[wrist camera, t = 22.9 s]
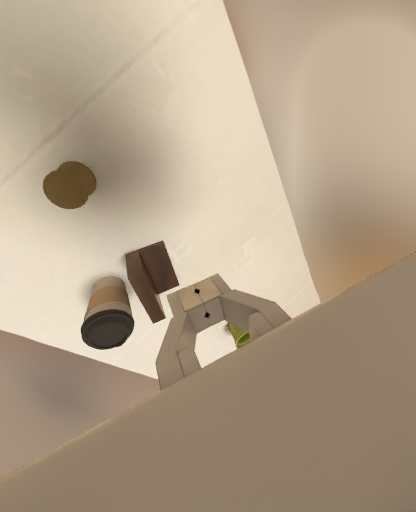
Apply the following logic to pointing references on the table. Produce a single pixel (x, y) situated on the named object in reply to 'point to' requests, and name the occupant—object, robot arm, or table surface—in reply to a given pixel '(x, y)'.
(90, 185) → the brown oblong lump
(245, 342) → the plant pot
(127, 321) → the coffee cup
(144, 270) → the walnut bookend
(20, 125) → the table surface
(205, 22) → the table surface
